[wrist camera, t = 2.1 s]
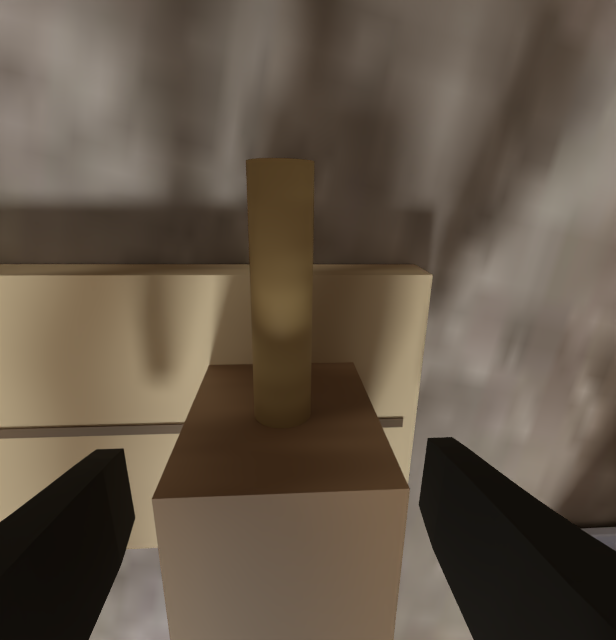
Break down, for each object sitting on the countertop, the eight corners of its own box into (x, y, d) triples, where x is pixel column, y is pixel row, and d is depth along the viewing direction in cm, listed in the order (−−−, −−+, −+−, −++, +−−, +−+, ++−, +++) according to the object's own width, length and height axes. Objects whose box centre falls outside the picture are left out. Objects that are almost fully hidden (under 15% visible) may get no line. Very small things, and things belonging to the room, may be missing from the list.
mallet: (362, 172, 9) (446, 146, 5) (347, 480, 12) (390, 662, 7) (195, 169, 9) (104, 139, 4) (217, 485, 12) (175, 678, 7)
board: (414, 264, 12) (433, 275, 10) (389, 501, 15) (402, 536, 13) (-241, 263, 10) (-326, 276, 9) (-125, 523, 13) (-175, 565, 12)
